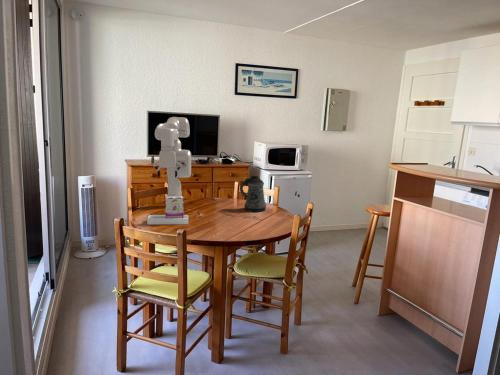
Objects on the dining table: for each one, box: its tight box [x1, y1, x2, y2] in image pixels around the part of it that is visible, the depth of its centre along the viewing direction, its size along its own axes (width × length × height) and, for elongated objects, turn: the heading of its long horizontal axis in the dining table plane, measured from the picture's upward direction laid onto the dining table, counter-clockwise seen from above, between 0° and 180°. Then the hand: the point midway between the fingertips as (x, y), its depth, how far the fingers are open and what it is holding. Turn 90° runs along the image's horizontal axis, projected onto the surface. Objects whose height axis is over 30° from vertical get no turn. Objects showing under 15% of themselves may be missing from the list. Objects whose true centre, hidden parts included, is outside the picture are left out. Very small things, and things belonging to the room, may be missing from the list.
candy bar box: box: [164, 195, 185, 218], centre depth 226 cm, size 11×5×16 cm, turn 101°
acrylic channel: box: [146, 214, 189, 225], centre depth 226 cm, size 9×24×4 cm, turn 99°
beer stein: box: [239, 175, 267, 213], centre depth 267 cm, size 16×19×25 cm
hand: (167, 177), depth 220 cm, fingers open, 9 cm apart
